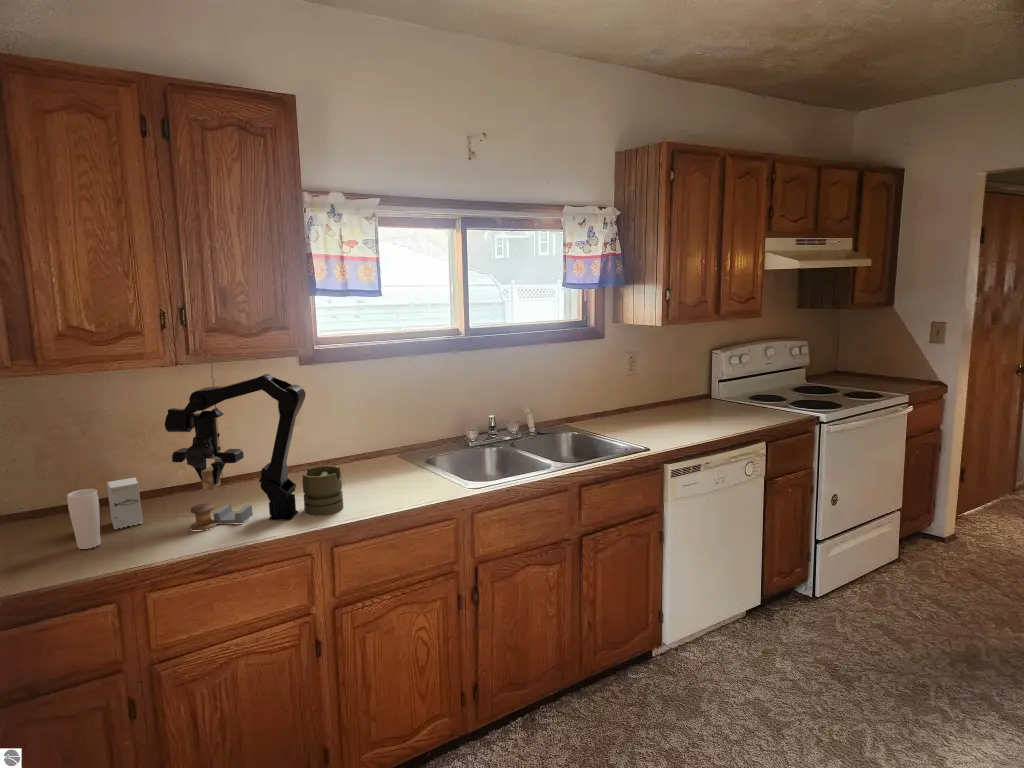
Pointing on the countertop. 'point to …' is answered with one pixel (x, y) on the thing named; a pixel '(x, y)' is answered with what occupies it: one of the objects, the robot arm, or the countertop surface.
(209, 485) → the wooden block
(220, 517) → the grey u-shaped channel block
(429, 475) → the countertop surface
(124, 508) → the supplement box
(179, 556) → the countertop surface
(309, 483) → the grooved olive planter pot
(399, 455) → the countertop surface
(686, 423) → the countertop surface
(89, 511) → the drinking glass
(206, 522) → the spool
